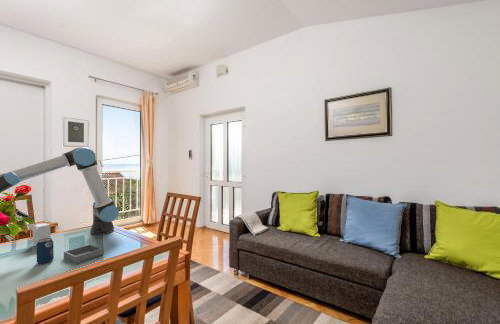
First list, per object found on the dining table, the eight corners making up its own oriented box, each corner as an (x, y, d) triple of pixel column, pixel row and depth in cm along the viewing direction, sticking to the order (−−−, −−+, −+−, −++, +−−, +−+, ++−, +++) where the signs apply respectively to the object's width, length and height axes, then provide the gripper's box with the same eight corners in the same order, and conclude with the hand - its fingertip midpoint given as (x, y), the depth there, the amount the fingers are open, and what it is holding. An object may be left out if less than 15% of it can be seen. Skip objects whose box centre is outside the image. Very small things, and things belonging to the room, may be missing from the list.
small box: (51, 244, 155) (50, 224, 154) (38, 248, 149) (38, 227, 149) (44, 242, 158) (44, 222, 158) (32, 245, 153) (32, 225, 152)
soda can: (55, 261, 130) (54, 239, 130) (38, 266, 125) (38, 243, 124) (51, 258, 134) (51, 236, 134) (35, 262, 129) (34, 240, 128)
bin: (90, 250, 146) (90, 244, 145) (102, 255, 139) (102, 248, 138) (63, 258, 134) (63, 251, 134) (75, 264, 127) (75, 257, 127)
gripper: (15, 206, 142) (40, 232, 142) (-36, 217, 117) (-5, 248, 117) (23, 197, 141) (49, 223, 142) (-26, 206, 117) (5, 237, 117)
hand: (25, 234), depth 129 cm, fingers open, 13 cm apart
